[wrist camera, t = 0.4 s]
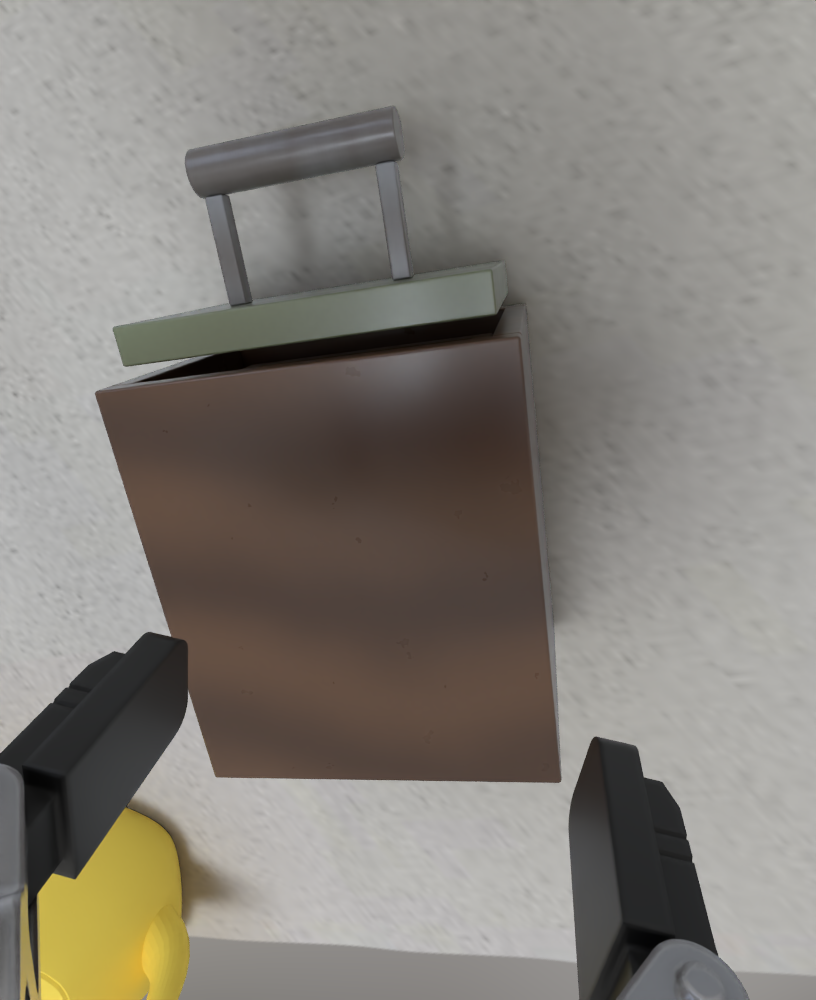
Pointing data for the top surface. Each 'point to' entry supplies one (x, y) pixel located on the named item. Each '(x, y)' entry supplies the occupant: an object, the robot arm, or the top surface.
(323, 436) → the cabinet
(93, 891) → the teapot
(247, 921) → the top surface
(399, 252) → the drawer
